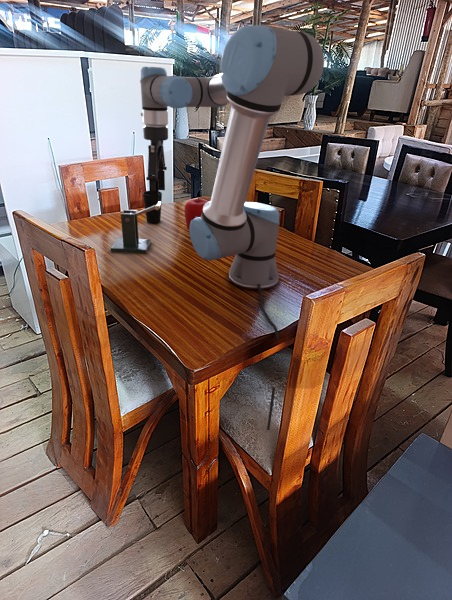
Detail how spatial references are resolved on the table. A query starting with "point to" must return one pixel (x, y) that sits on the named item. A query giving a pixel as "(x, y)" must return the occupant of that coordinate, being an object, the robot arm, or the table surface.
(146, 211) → the switch lever
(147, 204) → the cup
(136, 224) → the stand
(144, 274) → the table surface
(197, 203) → the apple
